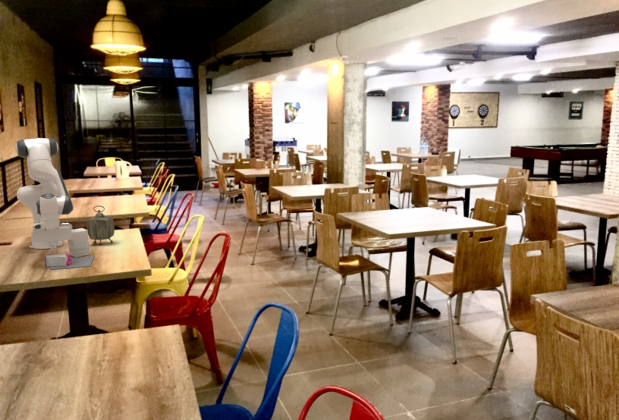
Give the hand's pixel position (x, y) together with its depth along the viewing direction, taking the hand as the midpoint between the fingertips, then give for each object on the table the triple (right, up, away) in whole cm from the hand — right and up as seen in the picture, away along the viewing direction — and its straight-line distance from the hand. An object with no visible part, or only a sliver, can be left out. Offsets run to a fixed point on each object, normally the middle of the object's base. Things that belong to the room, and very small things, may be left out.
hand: (53, 248), depth 281 cm
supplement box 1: (-3, -6, -1) cm, 7 cm away
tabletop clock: (+8, -1, +46) cm, 47 cm away
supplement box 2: (+5, -5, +21) cm, 23 cm away
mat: (+9, -8, +4) cm, 13 cm away
